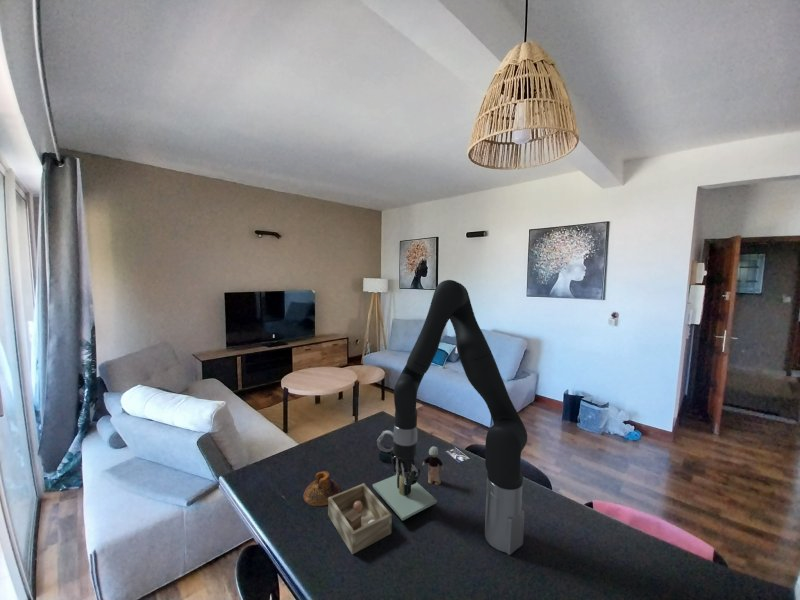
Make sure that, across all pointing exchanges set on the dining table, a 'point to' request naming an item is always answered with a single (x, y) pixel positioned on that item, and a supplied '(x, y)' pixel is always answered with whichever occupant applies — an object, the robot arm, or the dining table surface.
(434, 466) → the grandmother figurine
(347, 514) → the walnut cube
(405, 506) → the lid
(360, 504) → the terracotta ball
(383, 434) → the watch
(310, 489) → the brown rounded piece
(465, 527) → the dining table surface
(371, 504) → the box
